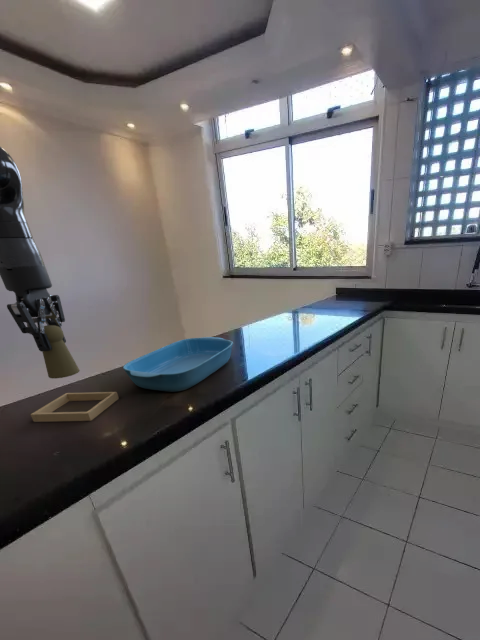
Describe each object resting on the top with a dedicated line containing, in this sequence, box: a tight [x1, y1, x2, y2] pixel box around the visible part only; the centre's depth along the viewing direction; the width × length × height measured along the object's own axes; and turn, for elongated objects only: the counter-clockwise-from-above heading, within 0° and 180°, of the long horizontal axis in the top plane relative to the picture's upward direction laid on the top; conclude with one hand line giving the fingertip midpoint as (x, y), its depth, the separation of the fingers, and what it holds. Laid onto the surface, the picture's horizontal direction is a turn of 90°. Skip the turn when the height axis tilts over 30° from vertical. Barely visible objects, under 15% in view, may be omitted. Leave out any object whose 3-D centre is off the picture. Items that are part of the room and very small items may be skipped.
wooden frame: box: [29, 391, 119, 423], centre depth 76 cm, size 14×12×3 cm
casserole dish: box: [122, 336, 234, 393], centre depth 96 cm, size 37×22×7 cm, turn 163°
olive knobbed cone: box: [42, 324, 81, 379], centre depth 69 cm, size 6×6×11 cm
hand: (53, 346), depth 69 cm, fingers closed on olive knobbed cone, 5 cm apart
